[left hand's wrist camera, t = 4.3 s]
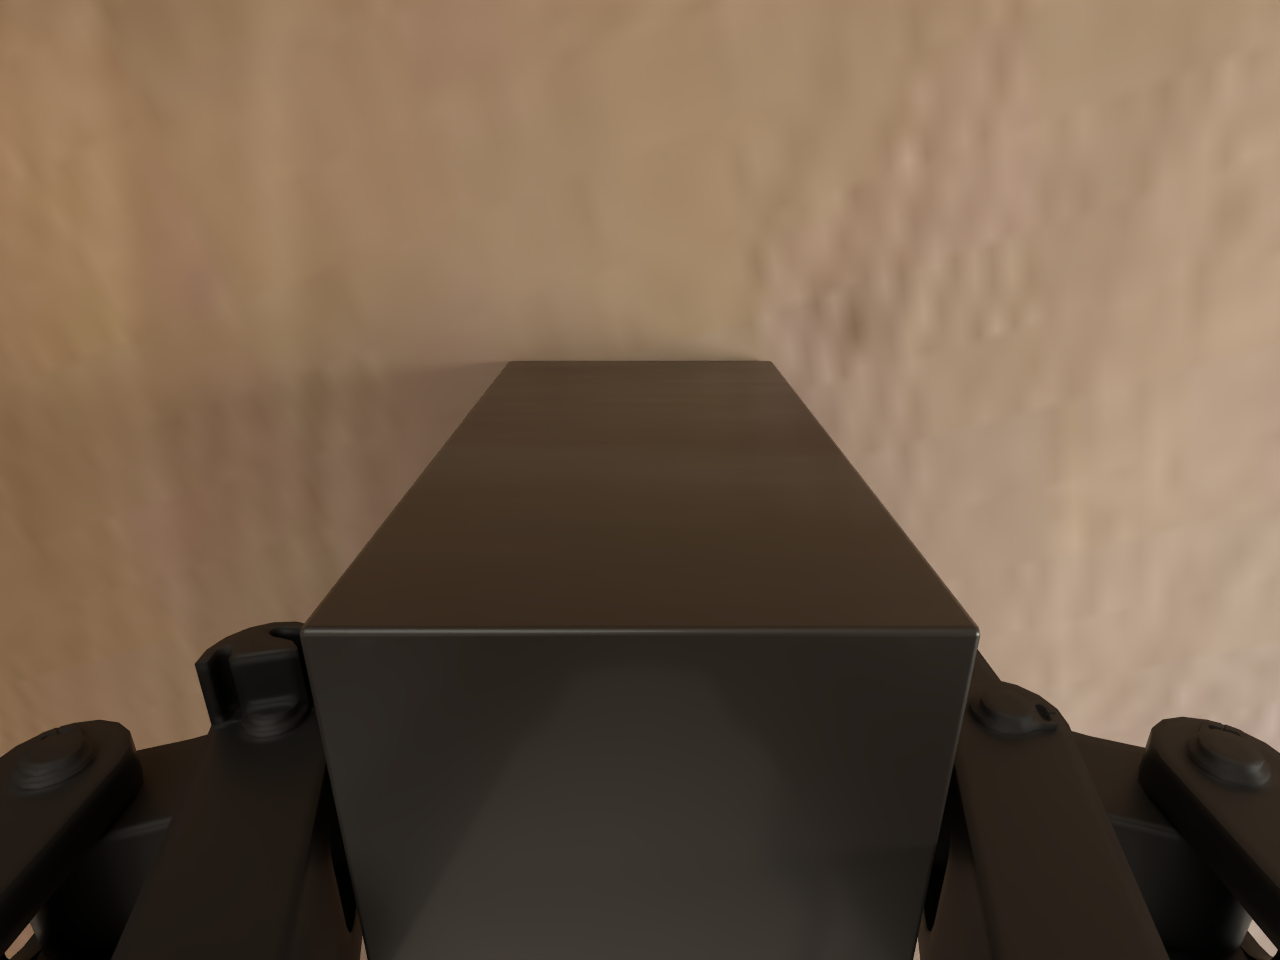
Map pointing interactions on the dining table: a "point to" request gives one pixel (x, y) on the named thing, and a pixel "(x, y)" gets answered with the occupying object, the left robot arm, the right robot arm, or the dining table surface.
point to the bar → (640, 683)
